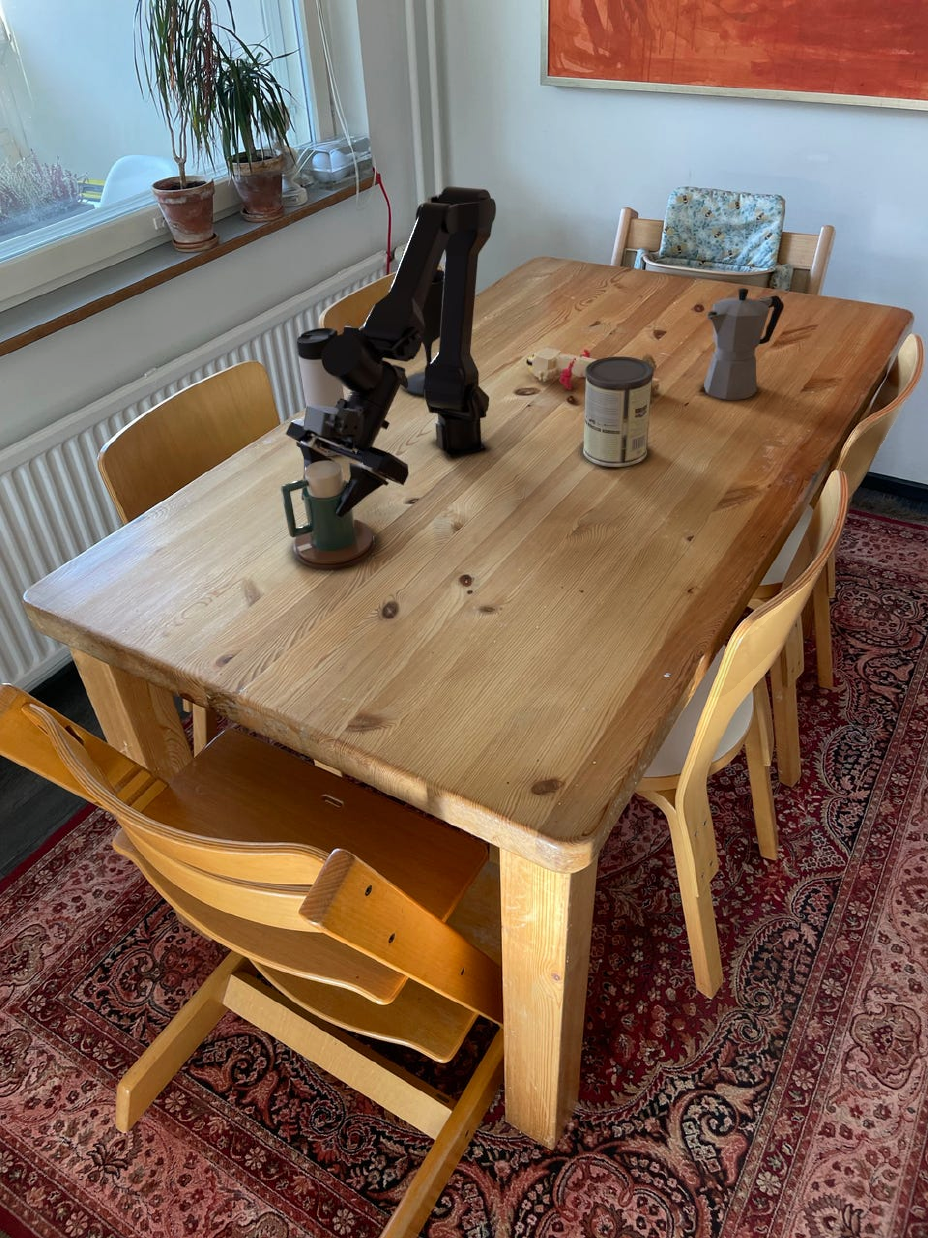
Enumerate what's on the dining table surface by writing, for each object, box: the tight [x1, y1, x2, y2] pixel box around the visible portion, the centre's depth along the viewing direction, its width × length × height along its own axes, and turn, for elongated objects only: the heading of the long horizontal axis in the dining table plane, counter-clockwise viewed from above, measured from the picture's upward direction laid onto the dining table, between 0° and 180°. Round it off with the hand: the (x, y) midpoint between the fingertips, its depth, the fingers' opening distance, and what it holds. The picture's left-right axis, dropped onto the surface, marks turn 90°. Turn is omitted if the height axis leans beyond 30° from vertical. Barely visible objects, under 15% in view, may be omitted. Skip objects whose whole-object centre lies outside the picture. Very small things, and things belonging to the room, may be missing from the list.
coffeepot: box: [703, 287, 785, 401], centre depth 162 cm, size 15×9×18 cm, turn 113°
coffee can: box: [582, 356, 655, 468], centre depth 147 cm, size 10×10×14 cm
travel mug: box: [296, 327, 345, 457], centre depth 151 cm, size 6×7×20 cm
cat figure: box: [524, 347, 660, 396], centre depth 169 cm, size 10×9×25 cm
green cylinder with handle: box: [280, 460, 373, 564], centre depth 129 cm, size 12×11×12 cm
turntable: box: [292, 531, 377, 571], centre depth 133 cm, size 12×12×1 cm
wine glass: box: [403, 268, 444, 397], centre depth 169 cm, size 10×10×20 cm
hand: (321, 508), depth 128 cm, fingers closed on green cylinder with handle, 6 cm apart
